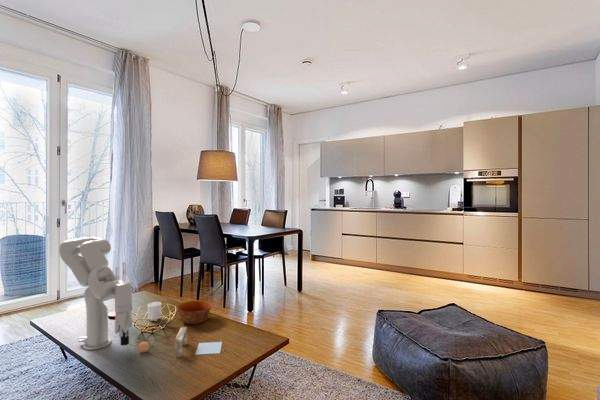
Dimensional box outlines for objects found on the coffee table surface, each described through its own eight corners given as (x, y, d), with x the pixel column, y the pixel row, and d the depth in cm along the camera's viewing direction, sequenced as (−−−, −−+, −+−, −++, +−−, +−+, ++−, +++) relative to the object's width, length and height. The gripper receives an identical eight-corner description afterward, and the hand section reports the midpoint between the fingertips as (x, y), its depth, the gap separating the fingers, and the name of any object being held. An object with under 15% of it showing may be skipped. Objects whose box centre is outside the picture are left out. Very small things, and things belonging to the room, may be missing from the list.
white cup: (164, 318, 205) (164, 303, 205) (153, 323, 198) (153, 307, 198) (155, 316, 209) (155, 301, 208) (144, 320, 201) (144, 304, 201)
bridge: (174, 357, 159) (174, 339, 159) (180, 343, 173) (180, 327, 173) (181, 356, 160) (181, 339, 160) (186, 343, 174) (186, 327, 173)
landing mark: (195, 354, 162) (195, 354, 162) (199, 343, 174) (199, 343, 174) (220, 353, 164) (220, 352, 164) (222, 342, 176) (222, 341, 176)
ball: (136, 354, 161) (136, 344, 161) (139, 349, 166) (139, 340, 166) (147, 354, 162) (147, 344, 161) (150, 349, 167) (150, 339, 166)
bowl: (201, 312, 217) (202, 297, 217) (218, 321, 202) (218, 306, 202) (170, 320, 202) (170, 304, 202) (186, 331, 187) (186, 314, 187)
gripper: (121, 303, 168) (122, 338, 168) (109, 313, 153) (110, 352, 154) (136, 302, 169) (138, 337, 170) (126, 312, 155) (127, 350, 155)
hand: (124, 344), depth 162 cm, fingers closed
